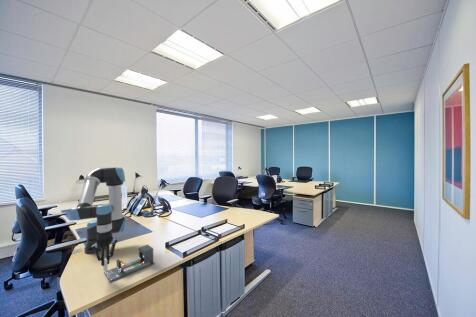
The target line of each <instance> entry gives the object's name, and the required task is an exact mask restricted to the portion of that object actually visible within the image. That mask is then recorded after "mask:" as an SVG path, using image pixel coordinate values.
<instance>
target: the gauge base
mask: <svg viewBox="0 0 476 317" xmlns="http://www.w3.org/2000/svg"><path fill="white" fill-rule="evenodd" d="M138 258H140V259H141V262H139V263H137V264H134V265H132V266H129V267H126V268H124V269H123V271H120V270H119V269H118V267H117V266H116V267H114V268H111V269H108V271H103V274H104V276H105V277H106V278H107V280H108V282H109V283H112V282H114V281H117V280H121V279H123V278H124V277H127V276H130V275H132V274H134V273H137V272H139V271H141V270H144V269H146V268H149V267H151V266H154V265H155V264H156V263H155V261H154V248H153V247H152V246H151V245H149V244H145V245H142V246H139V247H138Z"/></svg>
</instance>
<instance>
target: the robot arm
mask: <svg viewBox="0 0 476 317" xmlns="http://www.w3.org/2000/svg"><path fill="white" fill-rule="evenodd" d="M125 177H126V175H125V171H124V169H123V168H122V167H100V168H96V169H93V170H92V171H91V172H89V173H88V174H87V175H86V177H85V178H84V181H83V183H84V186H83V189H82V192H81V194H80V198H79V200H78V203H77V206H76V207H72V208H70V209H69V219H70V220H71V221H80V220H81V221H82V220H90V219H91V220H90V221H88V222H87V224H86V243H85V246H84V253H85V254H95V257H96V260H97V261H98V262H100V264H101V266H102V267H103V268H102V269H103V272H105V271H108V270H109V269H108V265H109V264H110V259H111V258H113V256H114V251H115V248H116V244H117V243H118V239H117V238H114V237H113V234H119V233H122V232H125V230H126V223H127V217H126V216H125V215H124V214H123V208H122V207H123V206H122V205H123V204H122V203H123V202H122V186H123V184H124V183H125V182H126V178H125ZM101 184H105V186H106V187H107V188H108V203H102V204H99V205H93V204H94V200H95V196H96V192H97V190H98V187H99V186H100V185H101ZM110 245H111V247H110Z"/></svg>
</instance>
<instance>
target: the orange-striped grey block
mask: <svg viewBox="0 0 476 317" xmlns="http://www.w3.org/2000/svg"><path fill="white" fill-rule="evenodd" d="M115 262H116V267H118V269H119V270H120V271H123V269H124V268H126V267H129V266H132V265H134V264H137V263H139V262H141V259H140V258H139V257H136V258H134V259H131V260H128V261H126V262H124V261H123V260H120V259H116V261H115Z"/></svg>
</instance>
